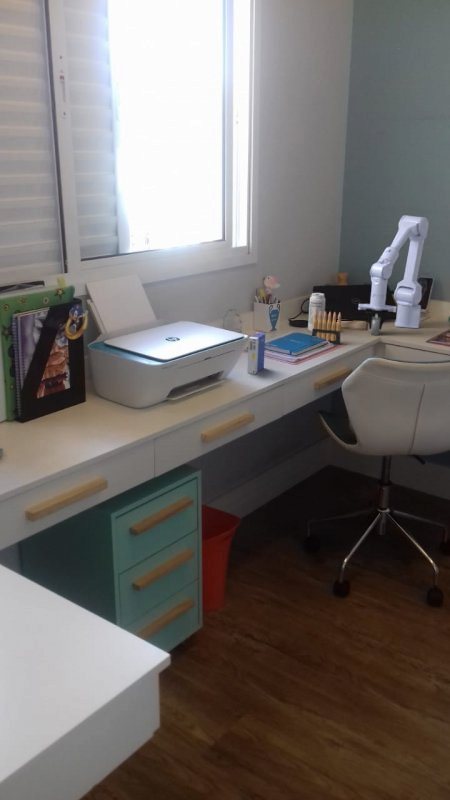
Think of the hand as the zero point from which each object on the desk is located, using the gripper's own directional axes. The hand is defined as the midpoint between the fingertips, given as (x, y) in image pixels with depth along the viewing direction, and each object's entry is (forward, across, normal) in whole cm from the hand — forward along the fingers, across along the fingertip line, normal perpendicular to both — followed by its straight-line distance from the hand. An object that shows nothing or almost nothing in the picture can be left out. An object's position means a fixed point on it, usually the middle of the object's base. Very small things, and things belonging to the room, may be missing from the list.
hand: (375, 328), depth 287 cm
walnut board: (+2, -10, +10) cm, 14 cm away
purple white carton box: (+2, -38, -60) cm, 71 cm away
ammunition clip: (+2, -18, -19) cm, 26 cm away
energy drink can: (+2, -23, -4) cm, 23 cm away
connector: (+2, 0, 0) cm, 2 cm away
